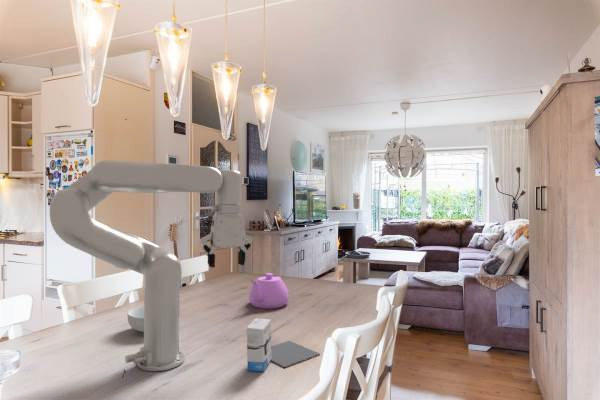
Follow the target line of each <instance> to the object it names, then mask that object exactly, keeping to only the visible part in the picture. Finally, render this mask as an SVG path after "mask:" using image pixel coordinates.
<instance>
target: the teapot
mask: <svg viewBox="0 0 600 400" xmlns="http://www.w3.org/2000/svg"><path fill="white" fill-rule="evenodd" d="M250 282H252V286H251V288H250V291H249V294H248V300H249V301H248V302H250V304H251V306H253V307H255V308H258V309H266V310H271V309H273V310H274V309H278V308H279V309H280V308H283V307H285V305H287V303H288V302H289V299H290V296H289V291H288V288H287V286H286V284H285V283H284V280H283V278H282V277H281V276H278V275H277V276H274V273H271V272H268V273H265V275H264V276H259V277H258V278H256V280H254V279H253V280H252V279H250Z"/></svg>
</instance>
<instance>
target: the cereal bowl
mask: <svg viewBox="0 0 600 400" xmlns="http://www.w3.org/2000/svg"><path fill="white" fill-rule="evenodd" d="M127 322H128V324H129V326H130V328H132V329H133V330H135V331H138V332H142V333H143V334H144V305H140V306H136V307H134V308H131V309H130V310H128V311H127Z"/></svg>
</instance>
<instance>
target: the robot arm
mask: <svg viewBox="0 0 600 400" xmlns="http://www.w3.org/2000/svg"><path fill="white" fill-rule="evenodd" d="M112 193H134V194H138V193H140V194H166V193H199V194H212V193H215V205H214V206H213V205H212V206H211V211H212V212H214V213H215V214H213V217H212V220H211V221H212V222H211V226H210V232H209V233H208V234H206V235H205V236H203V237H201V238H200V239H199V243H200V245H201V248H202V249H203V251H205V252H206V253H207V265H208V266H209V267H210V268H215V266H216V265H215V264H216V254H215V252H216V250H218V248H219V249H224V248H225V249H227V248H237V249H238V252H237V253H238V254H237V264H238V265H240V266H245V262H246V253H247V252H248V250H249V248H251V246H252V243H253V241H254V237H252V236H250V235H248V234H247V233H246V227H245V226H246V225H245V219H244V215H243V214H241V203H242V202H241V201H242V200H241V199H242V173H241V172H240V171H238V170H232V169H221V170H219V169H217V168H215V167H213V166H206V165H193V164H171V163H160V162H158V163H157V162H144V161H143V162H142V161H127V160H126V161H125V160H108V159H107V160H100V161H98V162H96V163H95V164H94V165H93V166H92V168H91V169H90V170H89V171H88V172H87V173H85V174H84V175H82V176H81V177H80V178H79V179H77V180H75V181H74V182H73V183H72V184H70V185H69V186H67V187H66V188H62V189H61V190H59V191H57V192H56V193H54V195H53V196H52V198H51V200H50V202H49V219H50V220H49V221H50V224H51V226H52V228H53V231H54V232H55V234H56V235H57V237H59V238H60V240H62V241H63V242H64V243H65V244H67V245H69V246H70V247H73V248H74V249H77V250H79V251H82V252H84V253H86V254H88V255H90V256H92V257H94V258H97V259H99V260H101V261H103V262H105V263H108V264H110V265H112V266H114V267H116V268H119V269H122V270H123V269H124V270H131V271H133V272H136V273H139V274H141V275H144V279H145V281H144V295H143V297H144V298H143V303H144V304H143V306H144V333H143V346H142V347H140V349H139V351H137V352H136V353H131V354H128V355H126V356H125V358H124V360H125V363H126V364H129V363H132V362H133V364H136V365H137V368H139V369H141V370H143V371H147V372H161V371H167V370H171V369H174V368H176V367H178V366H180V365H182V364H183V363H184V362H185V357H186V356H185V353H184V352H183V351H180V310H181V309H180V303H181V300H180V297H181V296H180V295H181V282H182V273H183V272H182V269H183V268H182V264H181V262H180V259H179V258H178V257H177V255H176V254H174V253H172V251H169V250H168V249H166V248H163V247H161V246H160V245H157V244H155V243H152V242H151V241H149V240H147V239H144V238H142V237H140V236H138V235H135V234H133V233H131V232H125V231H124V232H122V231H119V230H117V229H115V228H112V227H110V226H109V225H107V224H105V223H102V222H100V221H98V220H96V219H94V218H93V217H92V215H90V214H89V212H90V211H91V210H92V209H94V208H95V207H96V206H97V205H99V204H100V203H101V202H103V200H105V199H106V198H107V197H109V196H110V195H111V194H112ZM207 241H209V243H210V245H209V246H208V245H207Z"/></svg>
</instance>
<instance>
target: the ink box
mask: <svg viewBox="0 0 600 400" xmlns="http://www.w3.org/2000/svg"><path fill="white" fill-rule="evenodd" d="M271 346H272V319H271V318H270V319H268V318H258V317H257V318H254V319H253V321H252V322H251V323H250V324H248V326H247V327H246V352H247V353H246V356H247V357H246V358H247V359H246V360H247V371H248V372H265V370H266V369H267V367H268V365H269V364H270V362H271V361H270V360H271V359H272V355H271Z"/></svg>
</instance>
